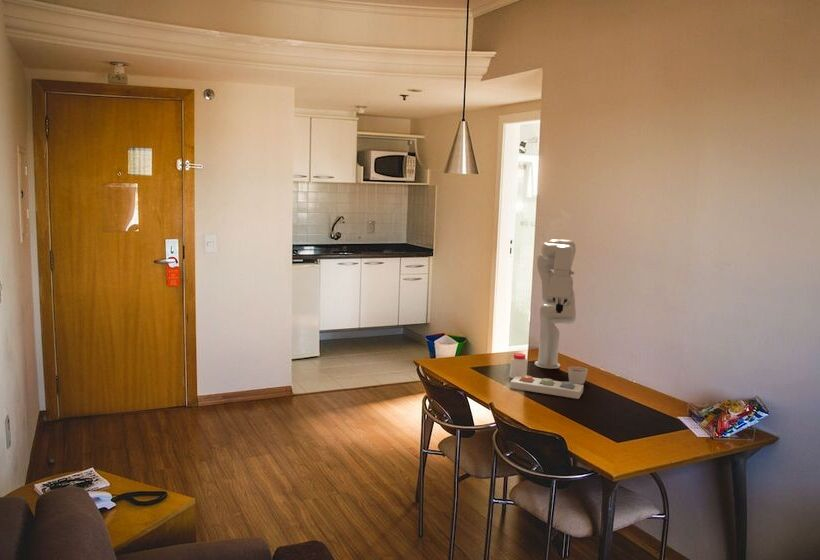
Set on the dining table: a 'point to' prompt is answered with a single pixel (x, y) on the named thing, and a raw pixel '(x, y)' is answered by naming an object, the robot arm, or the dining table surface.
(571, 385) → the button slate
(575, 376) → the candle
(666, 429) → the dining table surface
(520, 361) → the pill bottle
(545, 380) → the button sage
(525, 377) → the button terracotta
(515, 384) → the console
